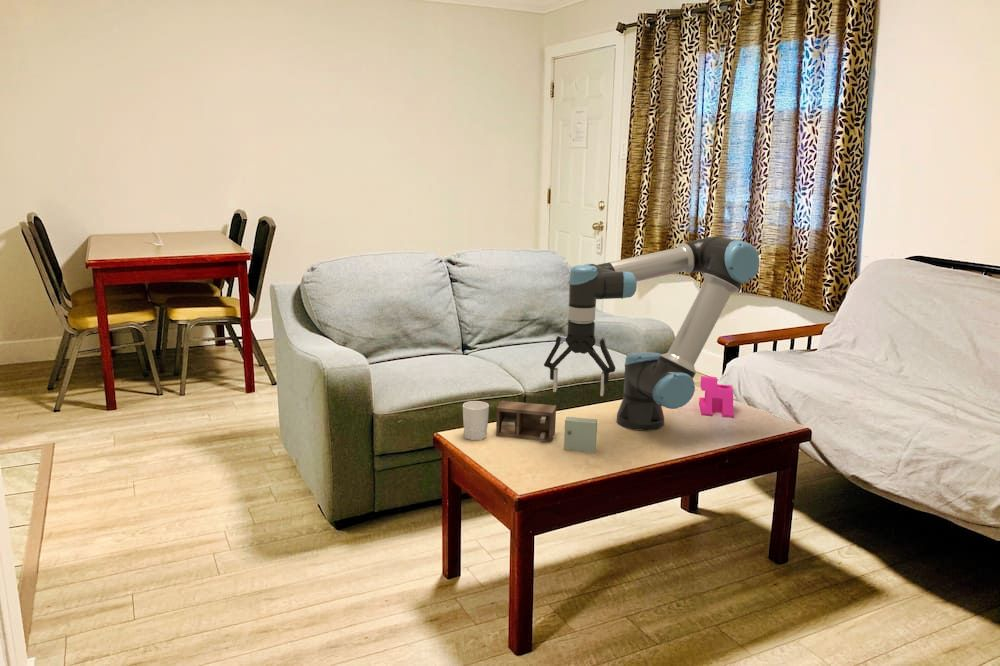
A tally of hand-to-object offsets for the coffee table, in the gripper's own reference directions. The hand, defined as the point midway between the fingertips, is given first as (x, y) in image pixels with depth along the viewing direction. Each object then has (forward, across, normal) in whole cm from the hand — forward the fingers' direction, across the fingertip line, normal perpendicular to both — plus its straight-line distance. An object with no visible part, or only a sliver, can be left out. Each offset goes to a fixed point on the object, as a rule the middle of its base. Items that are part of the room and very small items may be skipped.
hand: (578, 392), depth 221 cm
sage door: (+17, -1, +1) cm, 17 cm away
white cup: (+17, +31, -1) cm, 35 cm away
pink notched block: (+17, -41, -46) cm, 64 cm away
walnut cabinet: (+17, +16, -5) cm, 24 cm away
